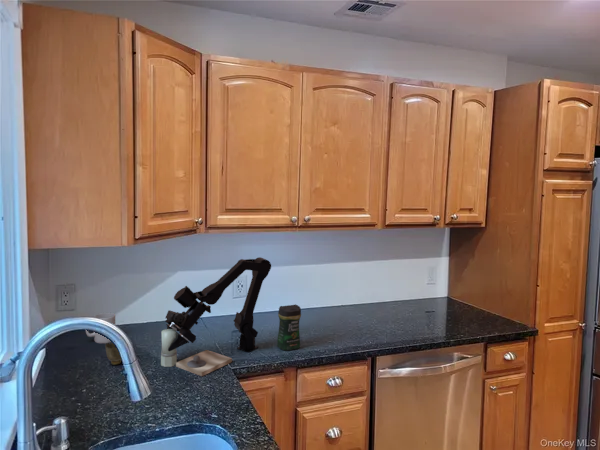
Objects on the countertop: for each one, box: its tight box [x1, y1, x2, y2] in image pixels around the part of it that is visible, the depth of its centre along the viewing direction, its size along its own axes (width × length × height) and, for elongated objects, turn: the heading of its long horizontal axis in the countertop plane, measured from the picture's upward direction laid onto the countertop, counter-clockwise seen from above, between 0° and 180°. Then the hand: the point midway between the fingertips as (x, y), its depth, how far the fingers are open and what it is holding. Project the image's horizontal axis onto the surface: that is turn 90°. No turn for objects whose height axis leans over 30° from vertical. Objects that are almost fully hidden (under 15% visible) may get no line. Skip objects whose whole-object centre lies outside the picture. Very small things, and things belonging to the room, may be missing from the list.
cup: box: [104, 342, 122, 366], centre depth 169 cm, size 8×7×8 cm
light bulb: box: [160, 328, 178, 368], centre depth 170 cm, size 6×6×13 cm
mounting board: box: [175, 349, 233, 377], centre depth 171 cm, size 16×14×5 cm
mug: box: [85, 312, 116, 344], centre depth 192 cm, size 12×8×11 cm
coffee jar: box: [276, 304, 302, 351], centre depth 190 cm, size 10×8×19 cm
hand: (165, 347), depth 169 cm, fingers open, 7 cm apart
